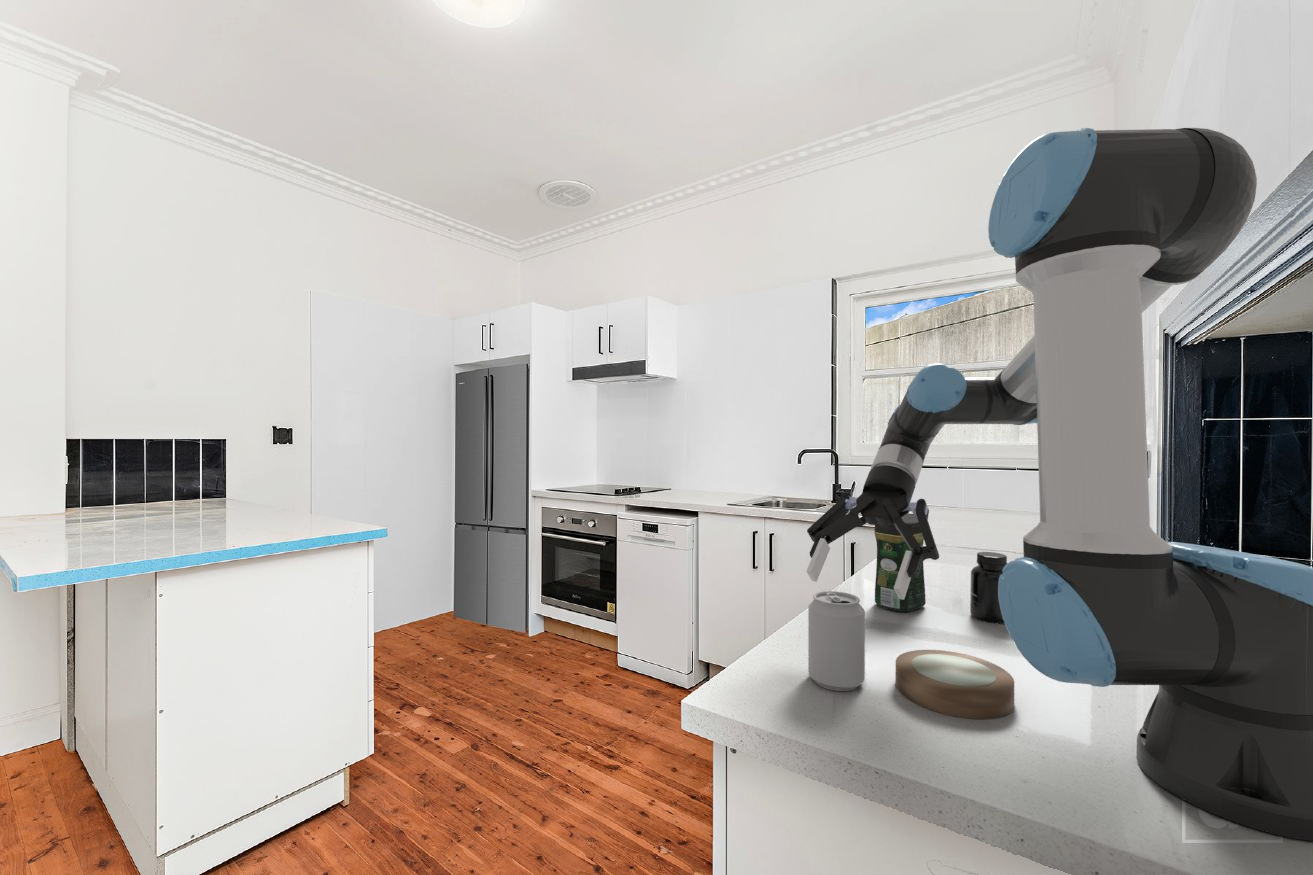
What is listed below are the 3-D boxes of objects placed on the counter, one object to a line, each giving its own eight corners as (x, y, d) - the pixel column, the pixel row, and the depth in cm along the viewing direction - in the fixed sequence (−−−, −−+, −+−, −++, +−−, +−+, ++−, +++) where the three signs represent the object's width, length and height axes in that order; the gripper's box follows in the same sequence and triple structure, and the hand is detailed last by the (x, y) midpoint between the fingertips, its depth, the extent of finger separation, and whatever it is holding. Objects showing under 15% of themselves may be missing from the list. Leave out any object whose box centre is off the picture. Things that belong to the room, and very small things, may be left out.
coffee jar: (895, 597, 119) (896, 509, 118) (932, 606, 112) (932, 513, 112) (866, 605, 113) (867, 512, 113) (902, 615, 107) (903, 517, 106)
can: (827, 697, 74) (827, 606, 74) (798, 673, 81) (798, 590, 81) (876, 689, 76) (876, 601, 76) (843, 667, 83) (843, 586, 83)
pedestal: (1041, 715, 69) (1041, 689, 69) (934, 722, 68) (934, 696, 68) (966, 667, 83) (966, 646, 83) (876, 672, 82) (876, 650, 82)
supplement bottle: (961, 615, 107) (962, 552, 107) (985, 610, 110) (986, 548, 109) (997, 626, 101) (997, 559, 100) (1021, 621, 103) (1021, 556, 103)
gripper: (979, 498, 88) (948, 617, 78) (830, 487, 106) (788, 583, 95) (969, 466, 84) (935, 586, 74) (816, 460, 102) (771, 557, 91)
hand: (852, 585), depth 84 cm, fingers open, 13 cm apart
